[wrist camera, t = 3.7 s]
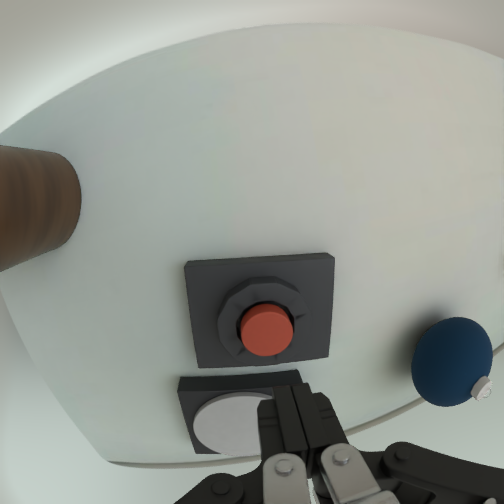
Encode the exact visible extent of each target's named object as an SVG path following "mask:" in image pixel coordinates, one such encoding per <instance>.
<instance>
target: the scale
mask: <svg viewBox="0 0 504 504" xmlns="http://www.w3.org/2000/svg"><path fill="white" fill-rule="evenodd" d="M301 383H303V381H302V379H301V376H300V373H299V371H298V370H293V371H284V372H274V373H264V374H251V375H236V376H213V377H180V381H179V385H178V389H177V393H178V396H179V400H180V404H181V408H182V411H183V415H184V418H185V422H186V425H187V428H188V432H189V435H190V438H191V441H192V444H193V447H194V450H195V453H196V454H225V455H231V456H253V455H259V454H261V452H260V443H259V435H258V422H257V407H258V405H259V403H260V401H261V400H265V399H272V387H277V386H286V385H294V384H301Z"/></svg>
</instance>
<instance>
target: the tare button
mask: <svg viewBox="0 0 504 504" xmlns="http://www.w3.org/2000/svg"><path fill="white" fill-rule="evenodd" d="M292 336H293V328H292V325H291V322H290V320H289V318H288V316H287V314H286V312H285V311H284V310H283V309H281V308H280V307H278V306H276V305H273V304H260V305H257V306H255V307H253V308H251V309H250V310H248V311H247V312H246V314H245V315H244V316H243V318H242V321H241V338H242V342H243V344H244V346H245V347H246V348H247V349H248V350H249V351H250V352H252V353H253V354H256V355H259V356H272V355H275V354H278V353H280V352H281V351H283V350H284V349H285V348H286V347H287V346H288V345H289V343H290V342H291V339H292Z"/></svg>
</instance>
